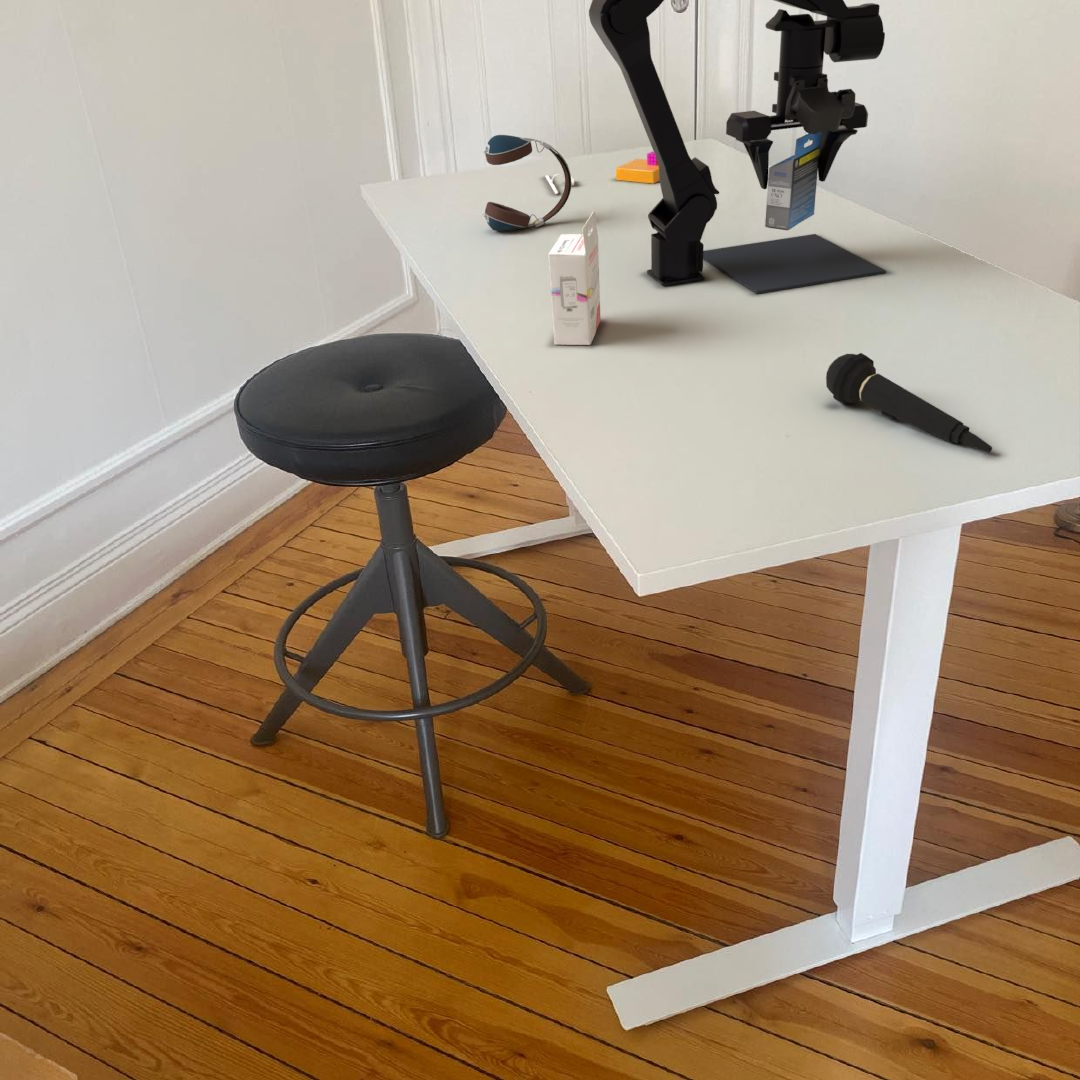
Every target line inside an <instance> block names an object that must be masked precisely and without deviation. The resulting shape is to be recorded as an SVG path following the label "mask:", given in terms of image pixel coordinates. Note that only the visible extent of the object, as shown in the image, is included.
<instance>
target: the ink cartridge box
mask: <svg viewBox="0 0 1080 1080" xmlns="http://www.w3.org/2000/svg"><path fill="white" fill-rule="evenodd" d="M590 228H591V231H590ZM581 231H582V233H562V234H561V235H559V237H558V238H557V240H556V241H555V244H553V246H552V248H551V249H550V251H549V252H548V253H547V257H548V267H549V284H550V296H551V297H550V299H551V311H552V312H551V313H552V327H553V329H552V330H553V343H554V345H556V346H557V345H560V346H561V345H562V346H563V345H564V346H566V345H567V346H591V345H592V343H593V340H594V338H595V336H596V333H597V330H598V328H599V325H600V323H601V295H600V294H601V292H600V290H601V289H600V287H601V286H600V285H601V284H600V259H599V258H600V255H599V234H598V224H597V217H596V211H595V210H593V211H592V213H591V214H590V216H589V217H588V218H587V220H586V222H585V223H584V225H583V227H582V229H581ZM589 231H590V233H589Z"/></svg>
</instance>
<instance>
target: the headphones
mask: <svg viewBox="0 0 1080 1080" xmlns="http://www.w3.org/2000/svg"><path fill="white" fill-rule="evenodd" d="M532 141H533V142H534V143H535V146H536V151H537V153H541V152H543V150H544V149H547V150H548V151H550V152H551V153H552V154H553V156H554V157H555V158H556V159H557V161H558V162H559V164H560V166H561V168H562V171H563V175H564V177H565V178H564V189H563V193H562V194H561V196H560V198H559V201H557V203H556V205H555V206H554V207H552V209H551V210H550V211H549V212H548V213H547V214H545V215H544V216H543V217H537V216H536V215H535V214H533V213H531V215H529V214H527V213H525V212H523V211H520V210H518V209H515V208H512V207H510V206H506V205H504V204H500V203H498V202H493V201H488V202H487V203H486V205H485V210H484V215H483V217H484V218H485V222H486V223H487V225H488V226H489V228H490V229H491V230H493V231H496V232H510V231H517V230H521V229H525V228H530V227H535V228H538V227H541V226H543V225H545V224H546V222H547V221H549V220H550V219H552V218H554V216H556V215H557V214H558V213H559V212H560V211H561V210H562V209H563V208H564V207H565V205H566V203H567V201H568V200H569V197H570V195H571V190H572V186H571V176H572V174H571V171H570V167H569V164H568V163H567V161H566V160H565V158H564V157H563V156H562V155H561V154H560V152H558V150H556V148H554V147H553V146H552V145H551V144H549V143H547V142H544V141H542V140H538V139H535V138H531V137H530V138H529V137H521V136H515V135H508V134H496V135H494V136H492V137H491V138H489V140H488V141H487V143H486V145H485V148H484V151H483V154H484V155H485V160H486V162H487V163H488V164H489V165H492V166H501V165H505V164H509V163H513V162H516V161H519V160H522V159H524V158H526V157H527V156H530V155H531V154H532V153H533V146H532ZM537 143H538V144H539V145H540V146H541V147H543V148H542V149H541V150H540V151H539V148H538V144H537ZM532 216H534V218H535V220H534V221H533V222H532V224H530V222H531V218H532Z"/></svg>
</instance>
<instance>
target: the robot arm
mask: <svg viewBox="0 0 1080 1080" xmlns="http://www.w3.org/2000/svg"><path fill="white" fill-rule="evenodd" d="M773 1H774V2H776V3H780V4H782V5H785V6H788V7H791V8H796V9H801V10H804V11H808V12H810V13H813V14H816V15H820V16H823V17H826V19H821V20H814V18H813V16H812V15H811V14H810V13H801V14H799V13H798V14H789V12H788V11H787V10H786V9H781V8H779V9H778V10H777V11H776V13H775V14H774V15H773V16H772V17H771V18H770V19H769V20H768V21H767V22H766V23H765V24H764V25H765V29H767V30H771V31H774V32H780V43H779V44H780V45H779V64H778V71H774V72H773V81H775V82H777V95H776V96H777V97H776V103H772V105H771V106H772V107H771V112H772V113H774V114H775V115H767V114H765V113H762V112H759V111H756V110H748V111H738V112H731V113H730V115H729V116H728V118H727V120H726V125H725V126H726V128H725V131H726V132H725V135H727V136H730V137H731V138H734V139H735V140H736V141H738V142H740V143H742V145H743V146H744V148H745V150H746V152H747V155H748V156H749V158H750V161H751V163H752V166H753V169H754V172H755V174H756V178H757V181H758V184H759V186H760V188H761V189H763V190H768V179H769V167H770V166H769V163H770V161H769V160H770V159H769V158H770V157H769V156H770V150H771V147H772V146H773V143H774V141H773V140H771V139H769V136H770V135H771V133H772V131H779V130H787V129H796V128H803V130H804V132H805V133H807V134H818V133H819V132H822V136H821V142H820V149H819V161H818V172H817V177H818V181H820V182H823V183H824V182H825V181H826V180H827V178H828V176H829V173H830V170H831V168H832V166H833V163H834V161H835V159H836V157H837V155H838V152H839V150H840V148H841V147H842V145H843V144H844V142H845V141H846V140H848V139H849V138H850V137H851V136H853V135H854V136H855V135H856V134H857V133H858V132H859V131H858V129H862V128H867V127H868V121H869V120H868V119H869V112H868V109H867V107H866V105H865V104H862V103H859V102H856V93H855V91H854V90H853V89H852V88H844V89H839V90H837V91H829V86H828V84H829V79H828V74H826V73H824V72H823V70H824V69H823V68H824V60H825V59H824V57H825V55H827V56H828V57H829V58H830V60H831V61H832V62H833V63H843V62H855V61H856V62H857V61H868V60H876V59H877V58H878V57H879V56H880V55H881V53H882V52H883V48H884V45H885V39H886V38H885V37H886V33H885V32H884V24H883V20H882V17H881V15H880V8H881V7H880V5H879V3H873V2H868V3H862V4H859V5H851V6H847V4H846V2H845V1H844V0H773ZM663 2H665V0H591V3H590V7H589V9H588V17H589V21H590V24H591V26H592V28H593V29H594V31H595V32H596V34H597V36H598V37H599V39H600V41H601V42H602V44H603V45H604V47H605V49H606V50H607V51H608V53H609V54H610V55H611V57H612V58H613V60H614V61H615V62H616V64H617V65H618V67H619V68H620V71H621V74H622V76H623V79H624V80H625V83H626V86H627V88H628V91H629V93H630V96H631V99H632V101H633V103H634V106H635V108H636V111H637V113H638V116H639V119H640V120H641V123H642V125H643V129H644V131H645V133H646V136H647V138H648V141H649V144H650V145H651V148H652V150H653V152H654V153H655V156H656V158H657V161H658V164H659V175H660V181H659V185H660V190H661V196H662V198H661V199H660V200H659V201H658V203H657V204H656V205H655V206H654V207H653V208H652V209H651V210H650V212H649V213H648V214H647V219H648V221H649V223H650V226H651V228H652V229H653V230H655V231H656V233H651V237H650V240H651V241H650V247H651V250H650V252H651V253H650V254H651V260H650V264H651V266H650V267H651V268H650V269H647V270H646V274H647V275H648V276H649V277H651V278H652V279H653V280H654V281H656V282H657V283H658V284H660V285H661V286H664V287H665V286H672V285H678V284H685V283H691V282H698V281H703V280H705V278H706V277H705V274H703V273H702V272H703V271H704V259H703V251H704V243H703V242H702V241H701V240H702V237H703V235H704V232H705V229H706V226H707V224H708V223H709V222H710V221H711V220H712V219H713V217H714V215H715V213H716V211H717V210H718V201H717V197H716V195H719V194H720V191H719V190H718V189H717V187H716V186H715V184H714V183H713V178H712V173H711V170H710V166H709V165H707V164H706V163H704V162H703V161H701V160H700V159H699V158H698V157H696V156H695V157H693V158H691V157H690V155H689V152H688V150H687V148H686V145H685V141H684V139H683V137H682V135H681V132H680V129H679V127H678V123H677V121H676V119H675V115H674V113H673V111H672V108H671V106H670V105H671V104H670V103H669V100H668V98H667V95H666V92H665V90H664V88H663V85H662V82H661V79H660V77H659V74H658V72H657V68H656V67H655V64H654V61H653V58H652V53H651V51H652V50H651V34H650V29H649V24H648V17H650V16H651V15H652V14H654V12H655V11H656V10H657V9H658V8H659V7H660V6H661V5H662V4H663Z"/></svg>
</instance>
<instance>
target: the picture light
mask: <svg viewBox="0 0 1080 1080" xmlns="http://www.w3.org/2000/svg"><path fill="white" fill-rule="evenodd" d="M557 176H559V174H558V173H555V174H554V175H553V176H552V177H550V175H549V174H546V175H545V179H546V181H547V182H548V184H549V185H550V187H551V189H552V190H553V193H554V194H555V195H558V194H559V190H558V188H557V187H556V185H555V184H554V181H553V180H554V179H555V178H556V177H557ZM560 176H562V177H563V178H564V179H565V175H564V174H562V173H560ZM573 186H575V179H574V178H573V176H572V175H571V187H573Z"/></svg>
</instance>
